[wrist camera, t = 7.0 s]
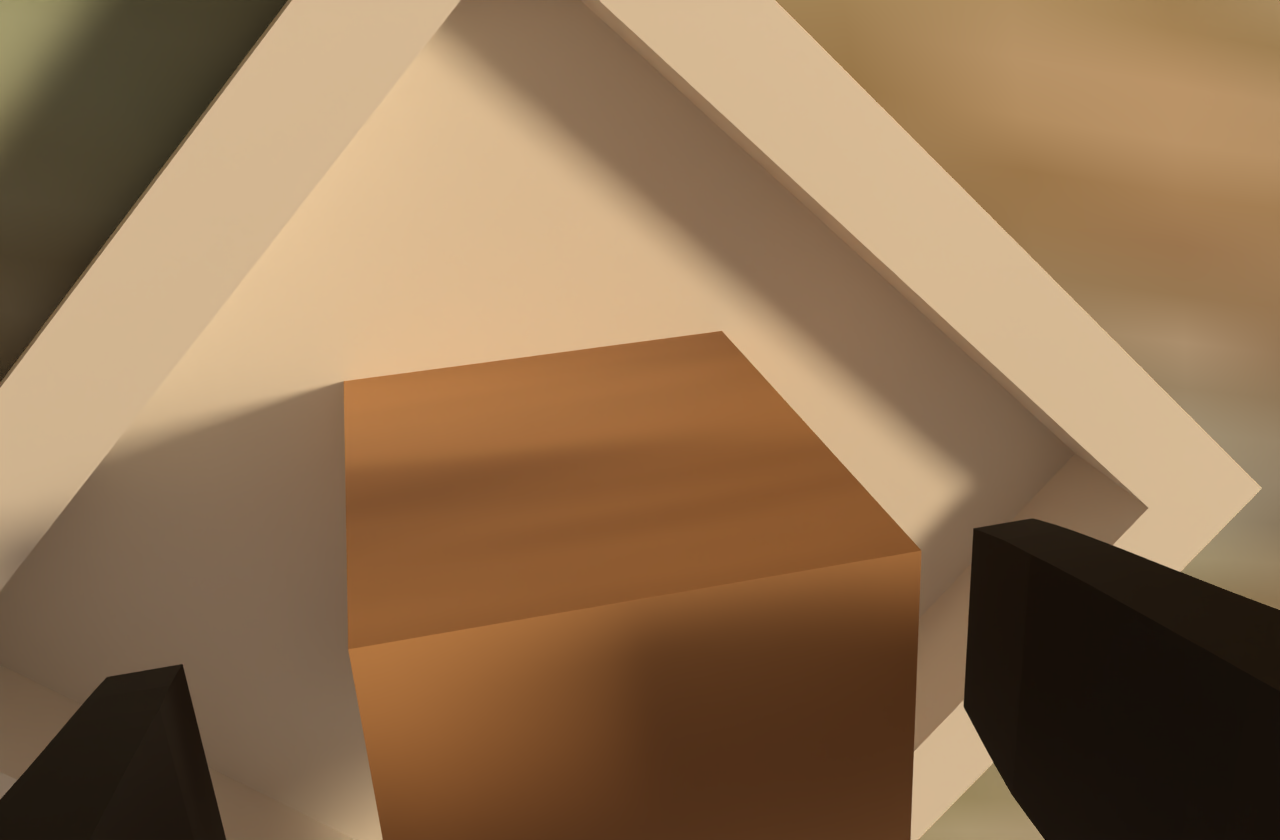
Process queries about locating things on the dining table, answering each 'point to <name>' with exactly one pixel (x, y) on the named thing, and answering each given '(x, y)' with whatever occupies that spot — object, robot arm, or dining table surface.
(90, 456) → the tray
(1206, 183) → the dining table surface
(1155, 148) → the dining table surface
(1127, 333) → the dining table surface
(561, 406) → the block
